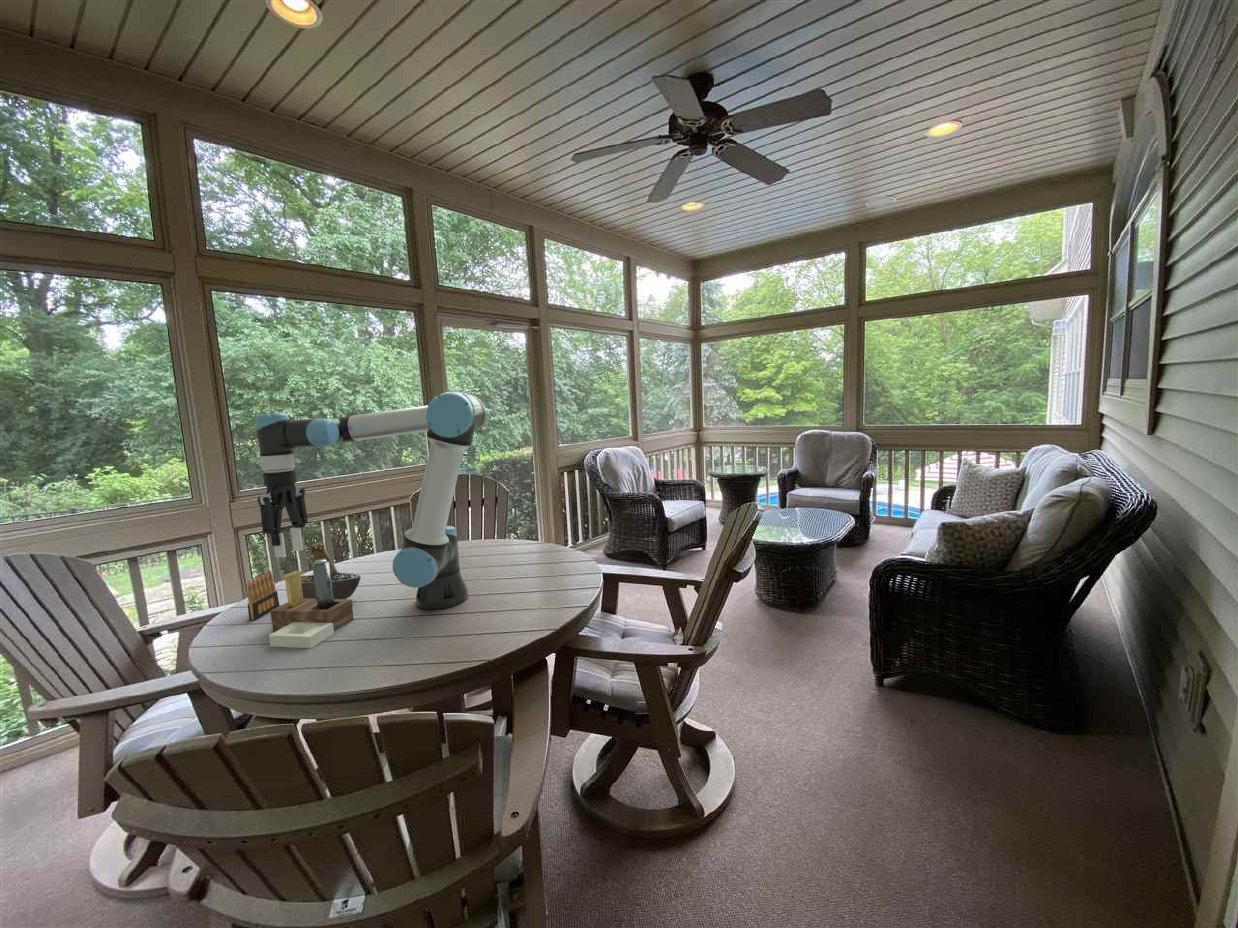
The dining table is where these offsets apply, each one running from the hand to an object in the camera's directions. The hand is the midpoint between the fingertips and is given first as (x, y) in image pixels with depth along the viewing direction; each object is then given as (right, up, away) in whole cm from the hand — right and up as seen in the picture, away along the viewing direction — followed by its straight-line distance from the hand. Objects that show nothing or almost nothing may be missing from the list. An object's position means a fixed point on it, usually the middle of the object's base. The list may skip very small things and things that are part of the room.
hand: (289, 553), depth 141 cm
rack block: (+8, -21, -8) cm, 24 cm away
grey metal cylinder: (+10, -18, 0) cm, 21 cm away
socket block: (+6, -21, +2) cm, 21 cm away
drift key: (+1, -16, +2) cm, 16 cm away
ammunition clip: (-16, -21, +12) cm, 29 cm away
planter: (+1, -19, +18) cm, 26 cm away
